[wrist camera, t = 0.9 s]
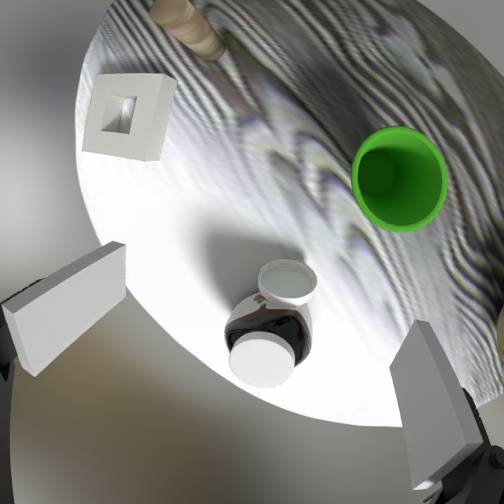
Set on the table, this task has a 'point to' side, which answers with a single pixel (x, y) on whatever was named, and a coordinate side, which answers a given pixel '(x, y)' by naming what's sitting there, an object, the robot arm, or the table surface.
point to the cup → (399, 179)
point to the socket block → (144, 117)
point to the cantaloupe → (501, 333)
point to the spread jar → (272, 325)
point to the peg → (188, 27)
